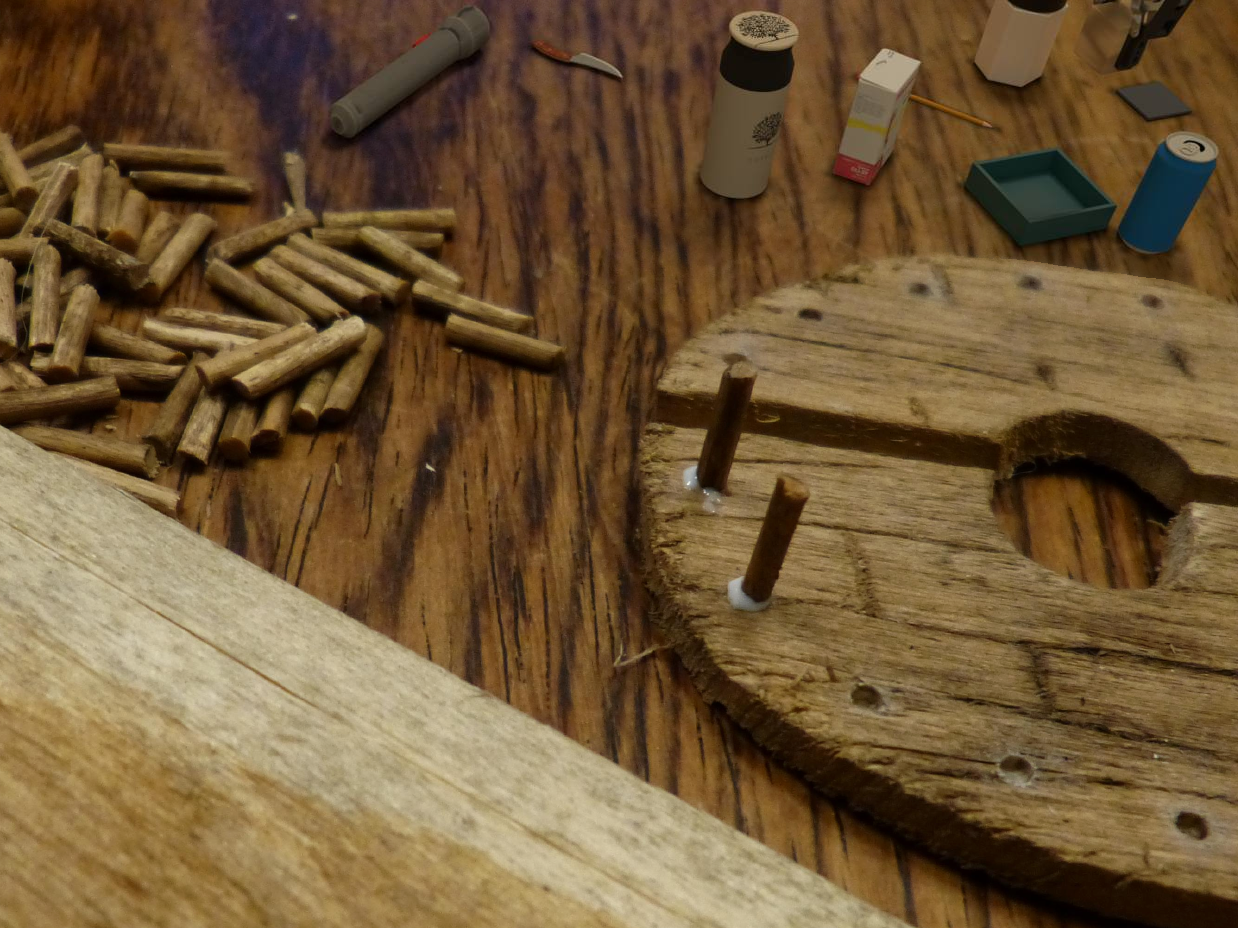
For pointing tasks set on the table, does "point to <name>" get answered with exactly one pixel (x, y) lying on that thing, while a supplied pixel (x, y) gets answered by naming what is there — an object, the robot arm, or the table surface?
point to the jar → (1019, 39)
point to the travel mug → (749, 104)
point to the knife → (575, 58)
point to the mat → (1153, 101)
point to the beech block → (1105, 35)
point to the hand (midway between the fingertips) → (1107, 54)
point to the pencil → (947, 109)
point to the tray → (1039, 196)
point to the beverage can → (1168, 192)
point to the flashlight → (411, 71)
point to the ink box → (875, 115)
